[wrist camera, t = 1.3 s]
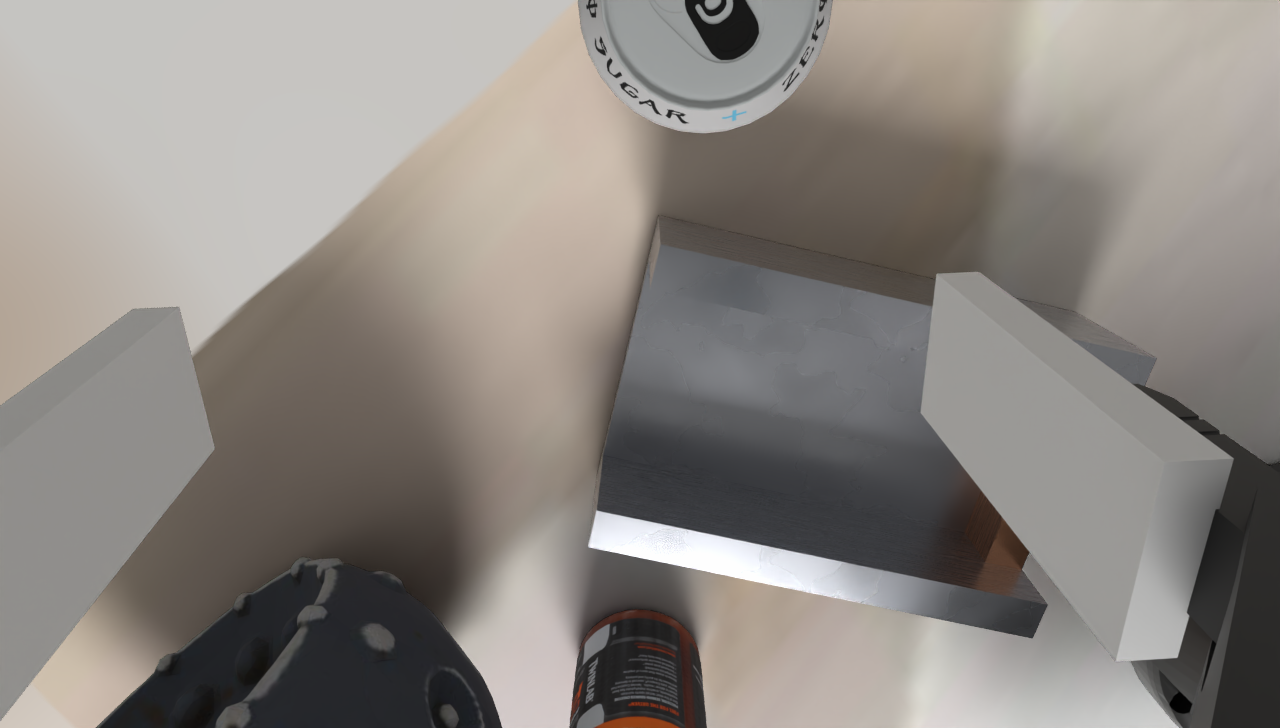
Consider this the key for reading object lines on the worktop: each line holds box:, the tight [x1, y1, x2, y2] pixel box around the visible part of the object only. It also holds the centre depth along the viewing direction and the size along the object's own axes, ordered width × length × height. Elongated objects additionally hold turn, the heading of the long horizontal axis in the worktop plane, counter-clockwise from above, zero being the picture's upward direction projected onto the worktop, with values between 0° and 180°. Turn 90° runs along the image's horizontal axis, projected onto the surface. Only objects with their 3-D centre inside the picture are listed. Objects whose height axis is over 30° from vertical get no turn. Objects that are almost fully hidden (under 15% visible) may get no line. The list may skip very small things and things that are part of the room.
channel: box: [588, 215, 1157, 638], centre depth 35 cm, size 18×12×6 cm, turn 77°
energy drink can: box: [578, 0, 833, 133], centre depth 26 cm, size 6×6×15 cm
